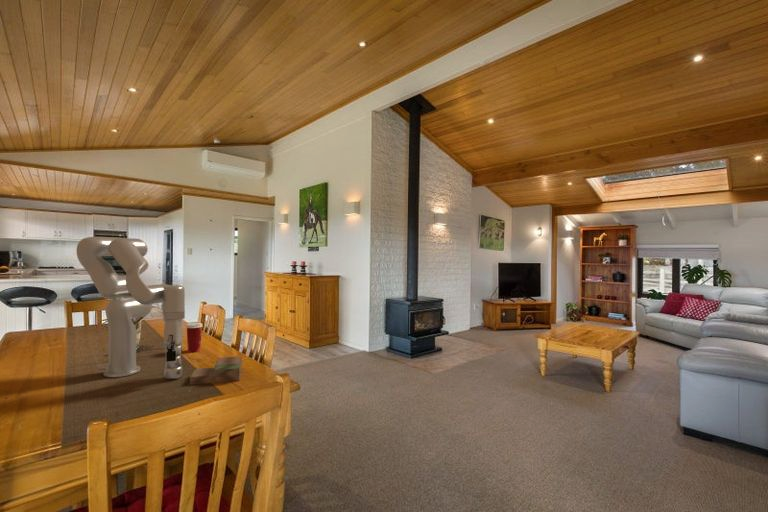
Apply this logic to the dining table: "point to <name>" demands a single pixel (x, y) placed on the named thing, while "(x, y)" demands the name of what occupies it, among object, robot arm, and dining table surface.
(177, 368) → the plastic bottle
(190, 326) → the paper cup
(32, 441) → the dining table surface
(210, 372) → the step stand
